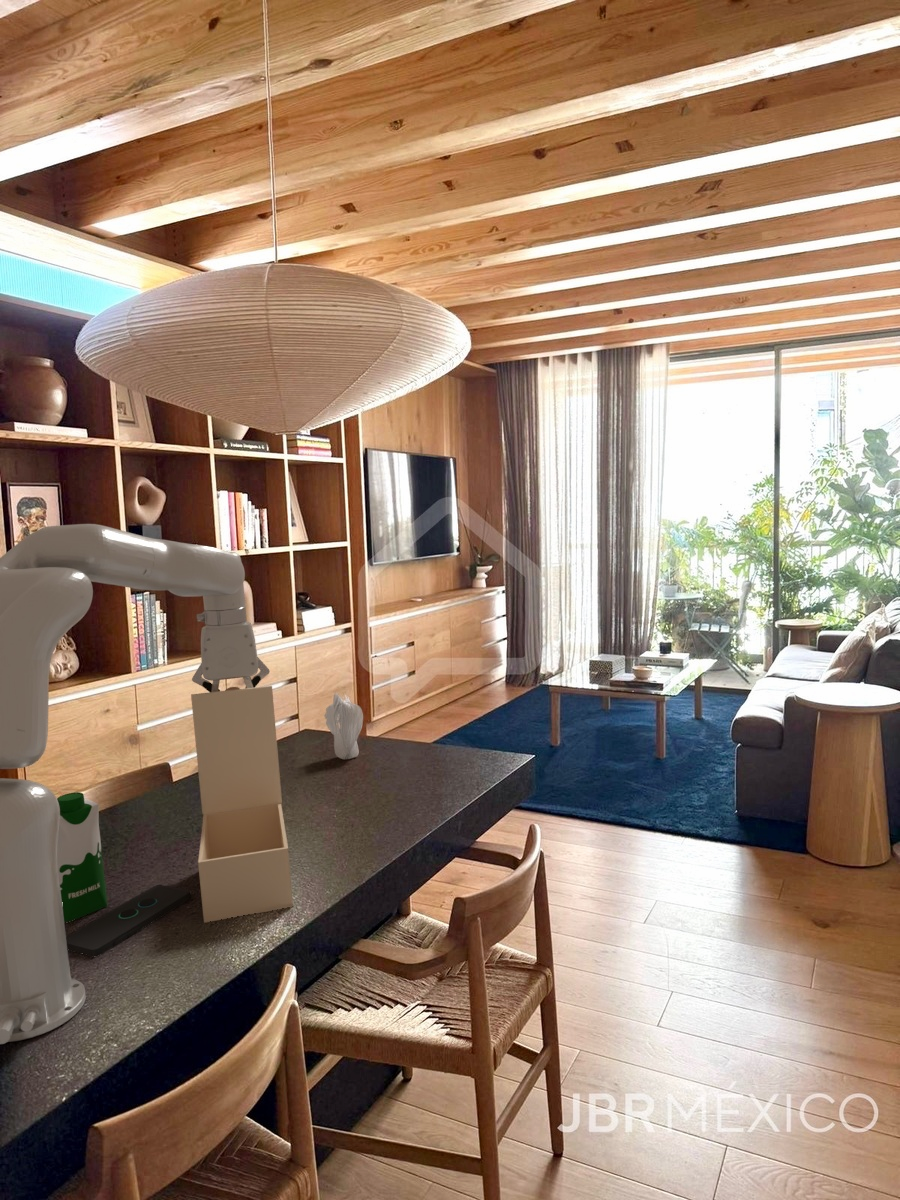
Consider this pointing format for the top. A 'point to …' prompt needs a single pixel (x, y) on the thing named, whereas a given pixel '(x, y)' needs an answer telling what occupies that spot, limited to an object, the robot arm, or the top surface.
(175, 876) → the top surface
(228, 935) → the top surface
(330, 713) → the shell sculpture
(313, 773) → the top surface
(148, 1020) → the top surface
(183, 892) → the smart home device
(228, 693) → the lid flap
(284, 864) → the carton
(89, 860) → the milk carton
